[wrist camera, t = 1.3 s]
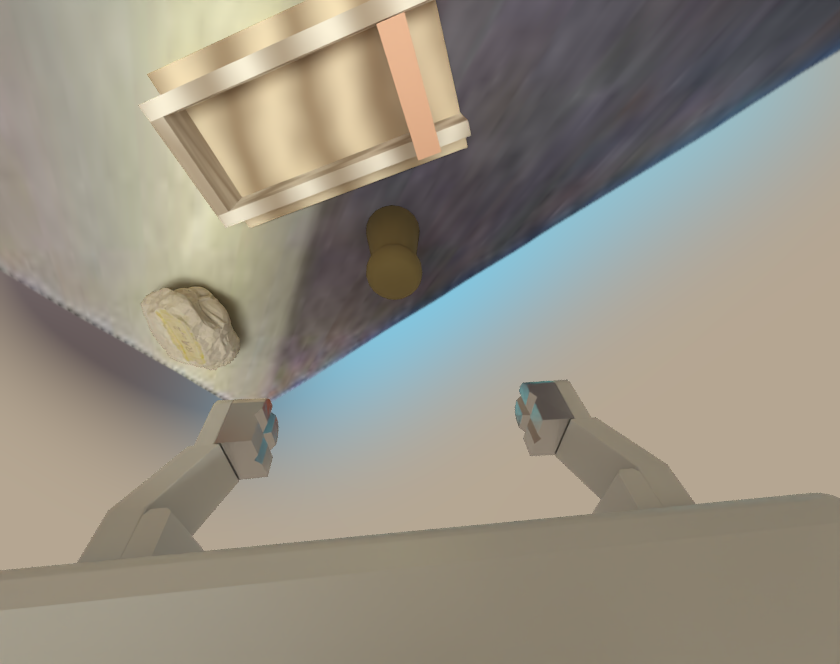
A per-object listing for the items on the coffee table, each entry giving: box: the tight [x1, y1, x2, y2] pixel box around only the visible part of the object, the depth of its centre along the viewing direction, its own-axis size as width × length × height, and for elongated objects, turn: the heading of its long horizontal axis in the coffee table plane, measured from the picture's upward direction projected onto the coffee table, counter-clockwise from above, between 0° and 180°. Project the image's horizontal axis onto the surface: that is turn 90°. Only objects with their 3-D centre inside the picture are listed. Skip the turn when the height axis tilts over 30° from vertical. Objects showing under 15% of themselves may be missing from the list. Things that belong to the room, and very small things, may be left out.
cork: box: [366, 205, 422, 300], centre depth 36 cm, size 6×6×11 cm
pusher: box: [376, 12, 441, 161], centre depth 26 cm, size 2×7×12 cm, turn 18°
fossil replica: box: [141, 287, 240, 370], centre depth 42 cm, size 12×8×10 cm
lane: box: [138, 0, 471, 228], centre depth 31 cm, size 24×14×5 cm, turn 108°
